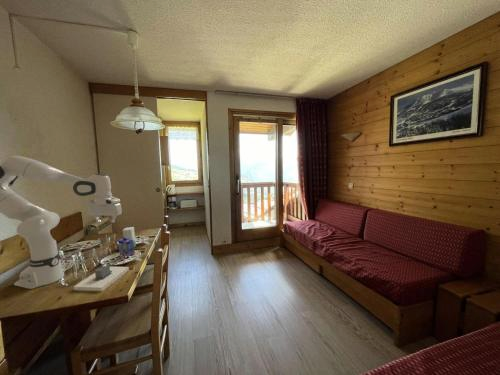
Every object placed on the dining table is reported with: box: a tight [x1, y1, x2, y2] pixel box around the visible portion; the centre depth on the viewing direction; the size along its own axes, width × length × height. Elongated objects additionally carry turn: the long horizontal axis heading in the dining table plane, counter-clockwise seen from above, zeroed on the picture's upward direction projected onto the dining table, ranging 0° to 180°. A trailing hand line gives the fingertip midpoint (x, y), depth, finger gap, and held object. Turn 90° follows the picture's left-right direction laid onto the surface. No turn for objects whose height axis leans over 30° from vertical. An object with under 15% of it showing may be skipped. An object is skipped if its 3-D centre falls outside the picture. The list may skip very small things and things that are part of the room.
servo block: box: [94, 264, 112, 281], centre depth 123 cm, size 4×10×8 cm, turn 175°
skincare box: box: [122, 226, 137, 248], centre depth 169 cm, size 8×7×16 cm
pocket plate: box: [73, 266, 130, 292], centre depth 123 cm, size 16×22×2 cm
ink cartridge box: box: [117, 236, 136, 258], centre depth 154 cm, size 10×6×14 cm, turn 67°
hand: (105, 222), depth 131 cm, fingers open, 8 cm apart
